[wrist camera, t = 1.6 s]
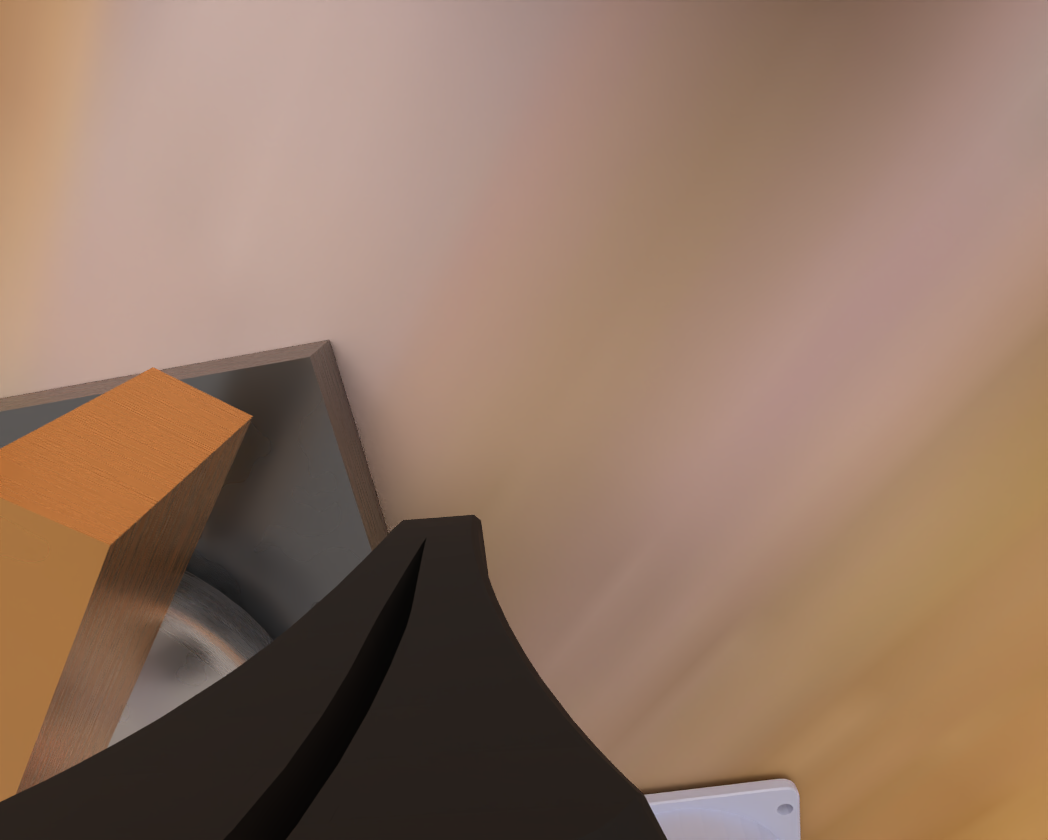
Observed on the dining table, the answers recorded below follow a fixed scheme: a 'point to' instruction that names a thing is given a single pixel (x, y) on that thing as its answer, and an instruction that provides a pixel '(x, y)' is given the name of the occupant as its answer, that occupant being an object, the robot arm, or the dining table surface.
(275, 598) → the base plate
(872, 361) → the dining table surface
